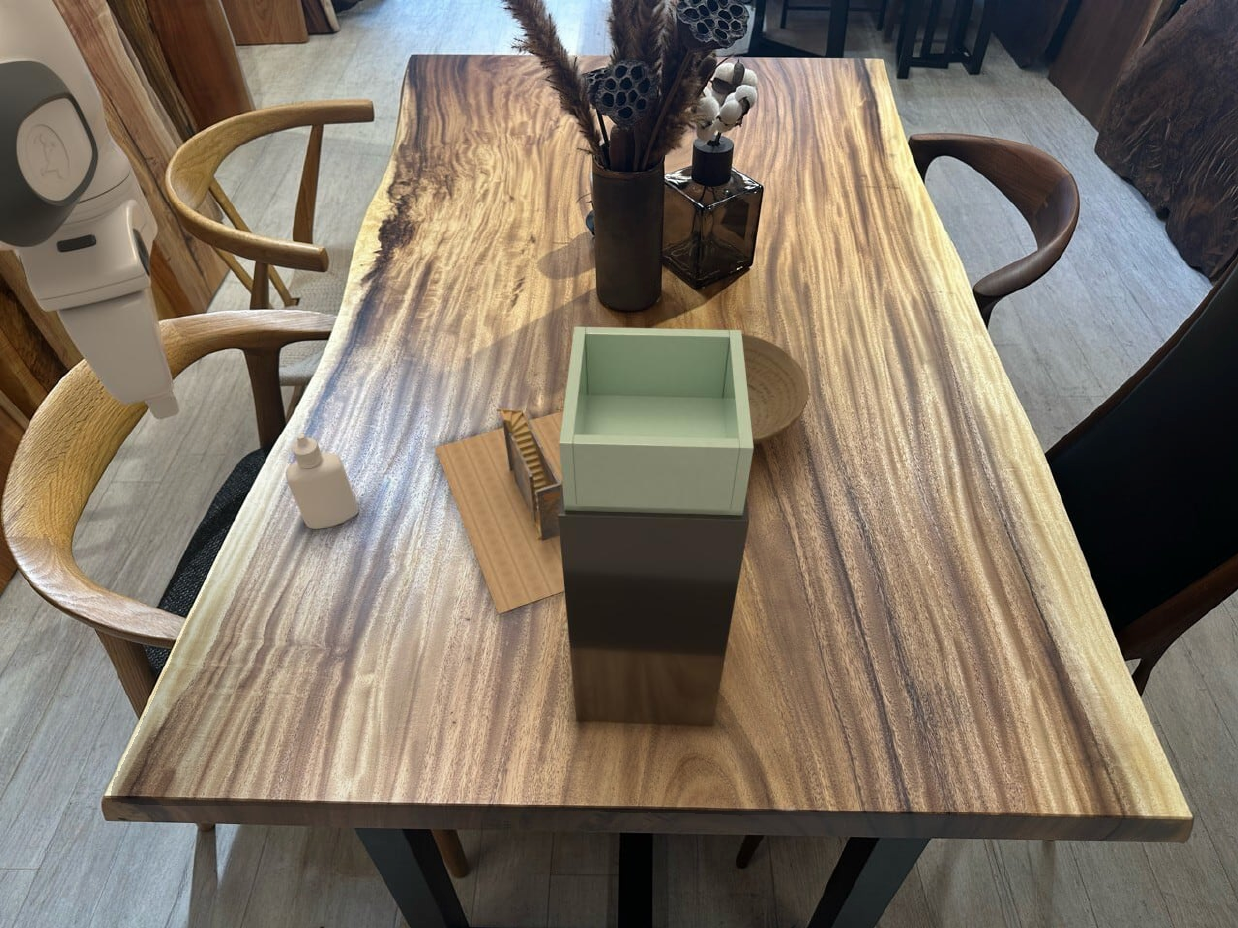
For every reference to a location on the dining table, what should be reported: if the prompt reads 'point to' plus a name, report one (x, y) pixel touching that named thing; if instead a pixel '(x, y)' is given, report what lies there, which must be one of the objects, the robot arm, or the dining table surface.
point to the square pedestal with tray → (652, 518)
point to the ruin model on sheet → (532, 470)
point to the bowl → (772, 388)
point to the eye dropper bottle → (320, 485)
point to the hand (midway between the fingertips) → (160, 378)
